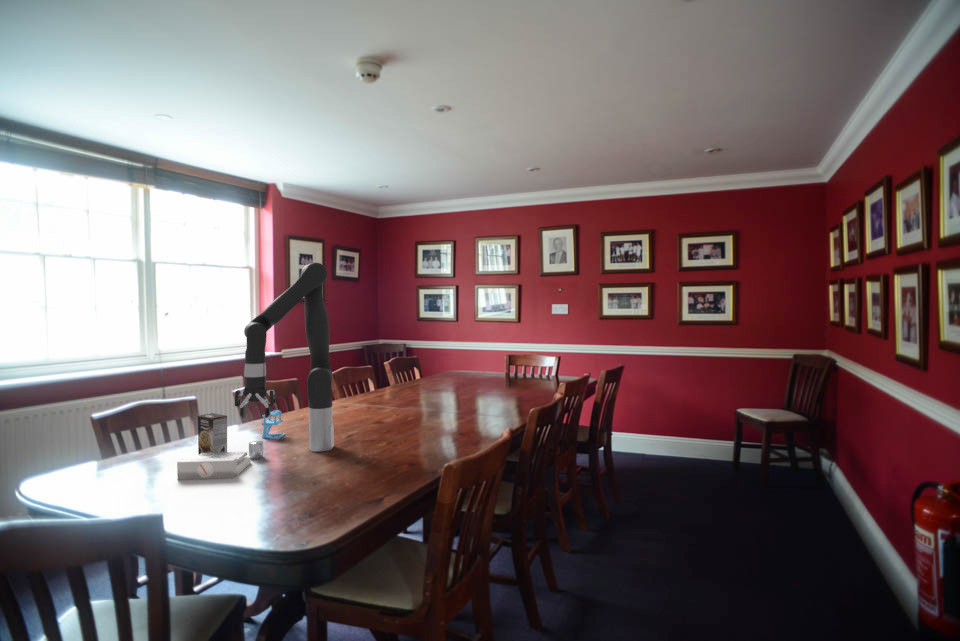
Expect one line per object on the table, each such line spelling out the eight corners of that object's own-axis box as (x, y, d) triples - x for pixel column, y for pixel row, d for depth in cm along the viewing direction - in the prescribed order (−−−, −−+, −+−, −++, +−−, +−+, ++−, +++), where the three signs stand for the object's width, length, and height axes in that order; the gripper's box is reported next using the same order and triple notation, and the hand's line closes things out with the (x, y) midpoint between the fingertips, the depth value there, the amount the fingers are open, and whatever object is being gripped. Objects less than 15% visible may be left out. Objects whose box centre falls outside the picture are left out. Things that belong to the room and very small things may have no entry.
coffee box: (197, 457, 191) (196, 415, 190) (213, 453, 197) (212, 412, 196) (212, 461, 187) (211, 418, 186) (228, 456, 192) (227, 414, 192)
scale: (250, 462, 184) (250, 446, 184) (233, 478, 168) (232, 461, 168) (199, 464, 183) (199, 448, 182) (176, 480, 166) (176, 462, 166)
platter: (247, 454, 184) (247, 451, 184) (235, 464, 173) (235, 461, 173) (201, 456, 182) (201, 452, 182) (187, 466, 171) (186, 462, 171)
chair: (267, 434, 224) (266, 408, 223) (285, 435, 224) (285, 408, 223) (259, 439, 216) (258, 412, 216) (278, 439, 216) (277, 412, 215)
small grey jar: (265, 455, 193) (264, 440, 193) (260, 459, 188) (260, 444, 188) (251, 456, 193) (251, 440, 192) (247, 460, 188) (246, 444, 187)
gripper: (277, 373, 194) (277, 414, 194) (239, 373, 192) (239, 415, 193) (271, 376, 186) (271, 419, 187) (231, 376, 185) (231, 419, 185)
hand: (255, 417), depth 190 cm, fingers open, 8 cm apart
